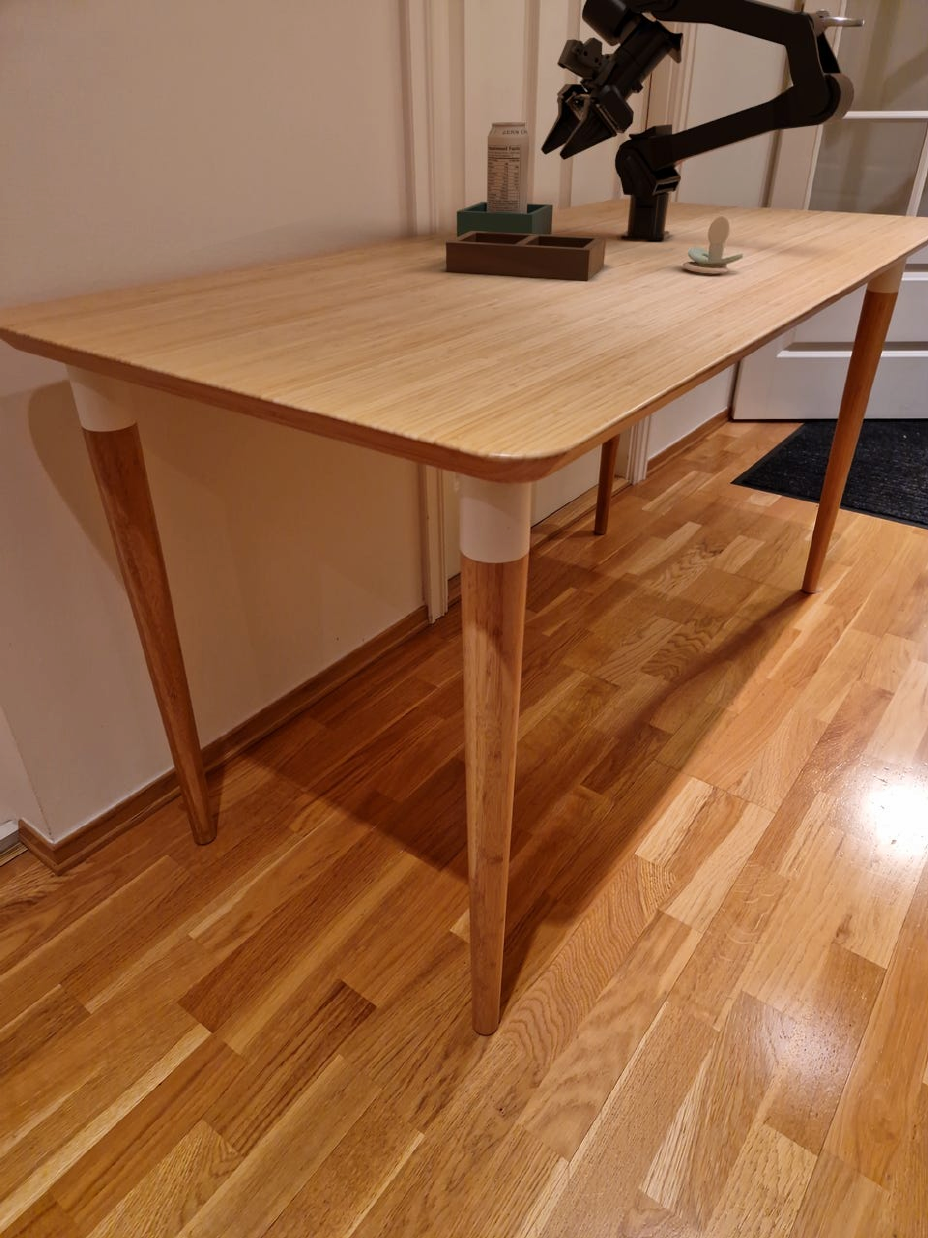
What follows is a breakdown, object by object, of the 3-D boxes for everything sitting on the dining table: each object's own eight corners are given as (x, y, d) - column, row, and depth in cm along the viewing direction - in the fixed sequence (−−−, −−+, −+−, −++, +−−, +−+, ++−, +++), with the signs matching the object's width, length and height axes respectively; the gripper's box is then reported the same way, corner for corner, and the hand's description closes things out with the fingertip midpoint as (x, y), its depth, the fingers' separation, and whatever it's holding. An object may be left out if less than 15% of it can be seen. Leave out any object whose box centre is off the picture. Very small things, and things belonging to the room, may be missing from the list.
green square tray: (481, 232, 135) (481, 201, 132) (551, 236, 131) (552, 204, 129) (456, 244, 126) (456, 210, 123) (531, 248, 122) (532, 214, 120)
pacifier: (716, 279, 104) (746, 271, 107) (724, 224, 100) (754, 217, 103) (670, 270, 109) (700, 263, 112) (676, 217, 105) (706, 211, 108)
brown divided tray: (471, 258, 116) (471, 230, 114) (604, 266, 111) (606, 237, 109) (446, 271, 108) (445, 241, 106) (587, 280, 103) (589, 249, 101)
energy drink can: (532, 235, 129) (536, 122, 121) (514, 240, 125) (517, 124, 117) (498, 232, 132) (500, 121, 124) (479, 237, 127) (480, 123, 119)
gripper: (574, 18, 122) (499, 107, 127) (620, 10, 107) (533, 112, 111) (620, 81, 128) (547, 165, 132) (669, 83, 113) (585, 177, 117)
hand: (551, 154), depth 123 cm, fingers open, 9 cm apart
